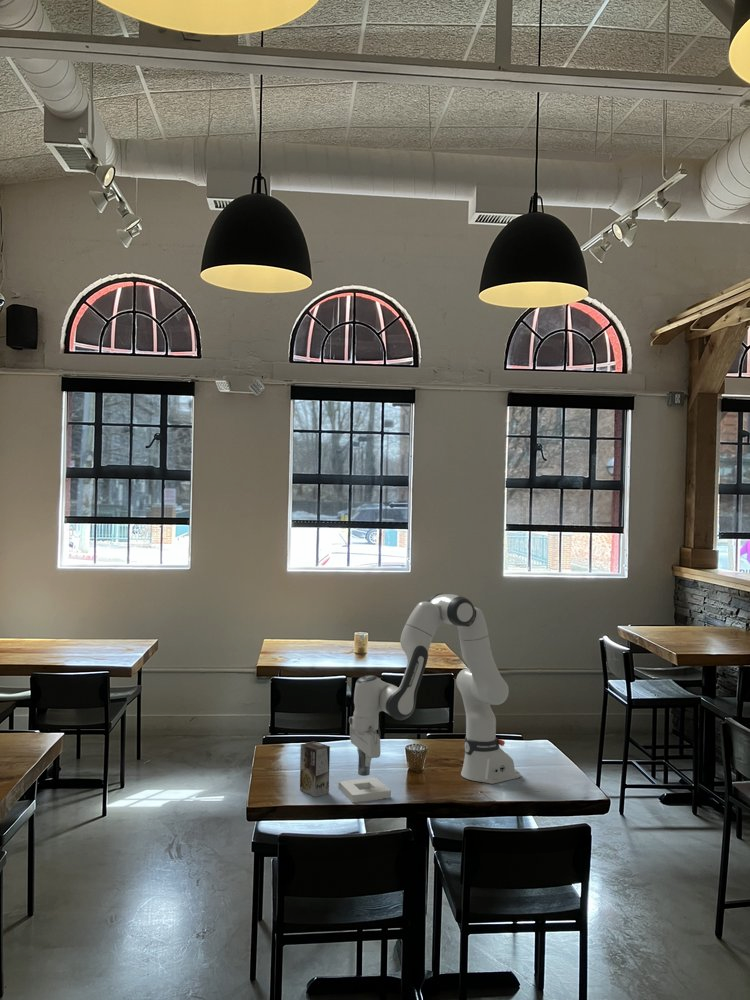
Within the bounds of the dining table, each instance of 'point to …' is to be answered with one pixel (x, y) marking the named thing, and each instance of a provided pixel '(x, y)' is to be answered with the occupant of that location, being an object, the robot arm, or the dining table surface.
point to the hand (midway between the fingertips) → (364, 763)
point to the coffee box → (314, 768)
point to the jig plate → (364, 789)
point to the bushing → (362, 765)
